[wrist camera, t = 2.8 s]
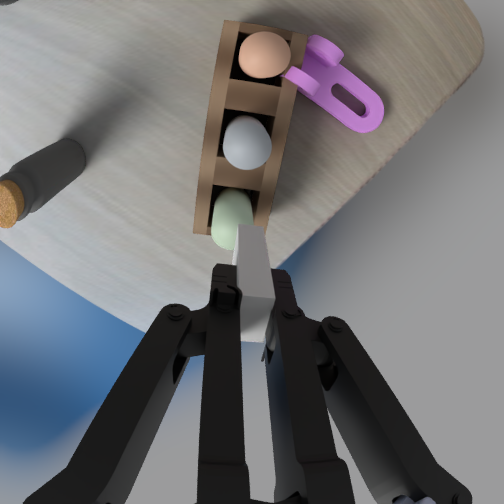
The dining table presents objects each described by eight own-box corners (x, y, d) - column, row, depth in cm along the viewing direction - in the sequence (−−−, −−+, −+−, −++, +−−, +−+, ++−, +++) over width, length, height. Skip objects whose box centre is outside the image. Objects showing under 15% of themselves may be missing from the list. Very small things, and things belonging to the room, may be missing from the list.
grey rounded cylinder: (228, 112, 28) (227, 120, 23) (267, 118, 29) (275, 128, 23) (222, 149, 30) (219, 166, 25) (260, 154, 31) (266, 173, 25)
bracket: (276, 76, 30) (284, 75, 24) (303, 40, 28) (317, 32, 22) (362, 139, 34) (385, 153, 28) (387, 106, 32) (414, 114, 26)
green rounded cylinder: (217, 184, 32) (213, 209, 27) (254, 189, 33) (258, 215, 27) (212, 217, 34) (208, 247, 29) (247, 222, 35) (250, 252, 29)
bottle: (92, 151, 33) (27, 197, 21) (75, 187, 35) (15, 244, 23) (60, 130, 31) (-13, 166, 18) (45, 166, 33) (-22, 215, 21)
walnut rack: (226, 29, 27) (224, 19, 22) (296, 42, 28) (308, 35, 23) (198, 210, 39) (192, 233, 34) (259, 218, 40) (263, 242, 35)
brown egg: (242, 38, 24) (244, 27, 19) (282, 45, 25) (294, 37, 19) (235, 74, 26) (235, 72, 21) (275, 81, 27) (285, 82, 21)
